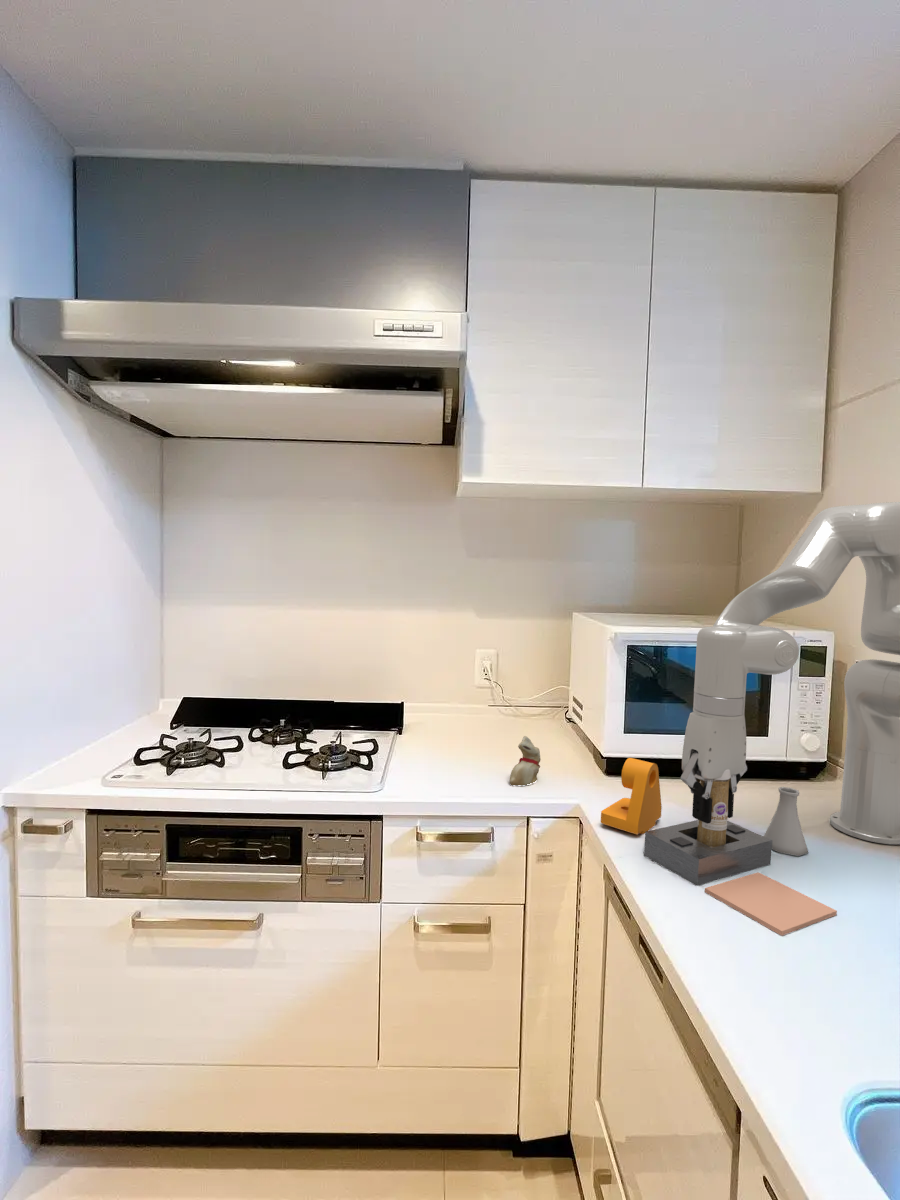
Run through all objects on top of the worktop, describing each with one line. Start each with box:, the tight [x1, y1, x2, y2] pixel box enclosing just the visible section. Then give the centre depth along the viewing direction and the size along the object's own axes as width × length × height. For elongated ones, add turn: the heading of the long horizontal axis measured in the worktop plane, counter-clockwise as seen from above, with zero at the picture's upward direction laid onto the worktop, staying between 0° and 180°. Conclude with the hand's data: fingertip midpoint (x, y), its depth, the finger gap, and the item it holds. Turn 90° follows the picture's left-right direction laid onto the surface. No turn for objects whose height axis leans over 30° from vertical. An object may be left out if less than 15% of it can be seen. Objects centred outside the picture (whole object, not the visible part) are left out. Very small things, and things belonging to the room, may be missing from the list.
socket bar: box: [643, 819, 772, 886], centre depth 103 cm, size 17×11×4 cm, turn 119°
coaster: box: [704, 871, 838, 937], centre depth 91 cm, size 12×12×1 cm
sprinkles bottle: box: [697, 769, 731, 848], centre depth 103 cm, size 5×5×13 cm
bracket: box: [600, 757, 663, 836], centre depth 117 cm, size 11×7×12 cm, turn 141°
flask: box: [763, 786, 809, 857], centre depth 110 cm, size 7×7×10 cm
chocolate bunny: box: [509, 735, 542, 786], centre depth 137 cm, size 6×8×10 cm
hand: (712, 816), depth 103 cm, fingers closed on sprinkles bottle, 4 cm apart
